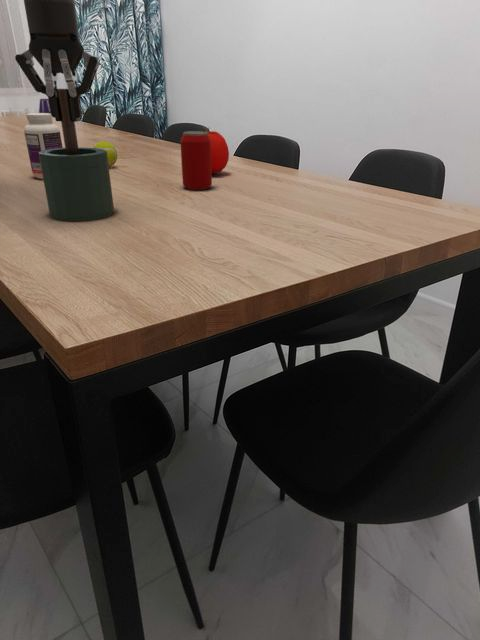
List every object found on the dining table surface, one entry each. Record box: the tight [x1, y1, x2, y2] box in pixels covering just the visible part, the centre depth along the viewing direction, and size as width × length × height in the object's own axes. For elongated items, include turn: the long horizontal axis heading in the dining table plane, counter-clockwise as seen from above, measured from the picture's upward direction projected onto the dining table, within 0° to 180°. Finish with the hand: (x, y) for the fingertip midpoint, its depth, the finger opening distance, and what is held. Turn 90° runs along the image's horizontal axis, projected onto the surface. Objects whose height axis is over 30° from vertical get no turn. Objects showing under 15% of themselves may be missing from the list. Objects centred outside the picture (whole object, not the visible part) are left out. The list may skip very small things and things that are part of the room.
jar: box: [38, 146, 115, 222], centre depth 92 cm, size 11×11×11 cm
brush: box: [56, 88, 79, 155], centre depth 89 cm, size 5×5×16 cm
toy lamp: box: [38, 98, 53, 123], centre depth 140 cm, size 5×5×17 cm
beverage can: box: [179, 130, 213, 191], centre depth 115 cm, size 7×7×12 cm
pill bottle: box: [23, 112, 64, 180], centre depth 122 cm, size 8×8×14 cm
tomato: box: [201, 127, 230, 174], centre depth 131 cm, size 12×12×11 cm
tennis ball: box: [93, 141, 118, 168], centre depth 138 cm, size 7×7×7 cm
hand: (67, 120), depth 87 cm, fingers closed on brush
